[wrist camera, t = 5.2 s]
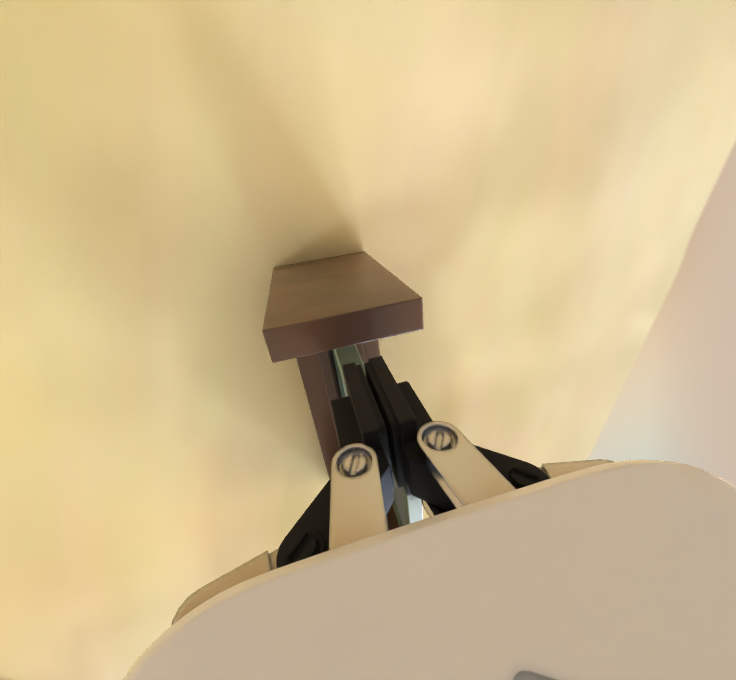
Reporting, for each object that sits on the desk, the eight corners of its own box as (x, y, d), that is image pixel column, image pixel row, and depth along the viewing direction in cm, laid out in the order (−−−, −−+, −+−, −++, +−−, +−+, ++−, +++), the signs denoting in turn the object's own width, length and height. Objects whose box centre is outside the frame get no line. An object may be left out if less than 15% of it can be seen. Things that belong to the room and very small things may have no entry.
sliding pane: (342, 405, 27) (382, 557, 16) (322, 308, 23) (357, 424, 12) (355, 402, 28) (403, 550, 16) (338, 305, 23) (387, 416, 12)
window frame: (331, 480, 34) (349, 604, 23) (273, 267, 22) (261, 331, 12) (390, 462, 35) (433, 575, 24) (364, 251, 23) (423, 298, 13)
